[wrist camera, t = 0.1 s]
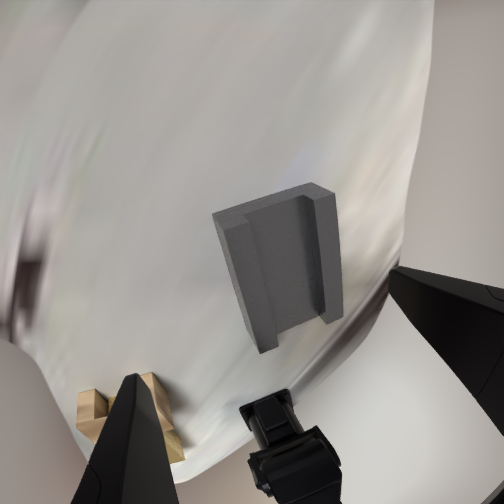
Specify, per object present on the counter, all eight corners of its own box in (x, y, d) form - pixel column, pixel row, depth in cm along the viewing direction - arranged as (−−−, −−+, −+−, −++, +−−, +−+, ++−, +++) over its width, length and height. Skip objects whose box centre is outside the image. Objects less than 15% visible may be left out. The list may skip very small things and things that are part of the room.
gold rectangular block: (179, 437, 33) (185, 460, 30) (155, 444, 33) (159, 466, 30) (137, 388, 28) (139, 415, 25) (108, 396, 27) (109, 423, 24)
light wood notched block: (167, 394, 29) (174, 428, 25) (98, 413, 27) (98, 446, 23) (151, 372, 27) (156, 408, 23) (78, 393, 25) (76, 428, 21)
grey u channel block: (324, 297, 30) (343, 316, 27) (247, 329, 28) (259, 354, 25) (311, 182, 24) (334, 193, 21) (211, 214, 22) (223, 230, 19)
